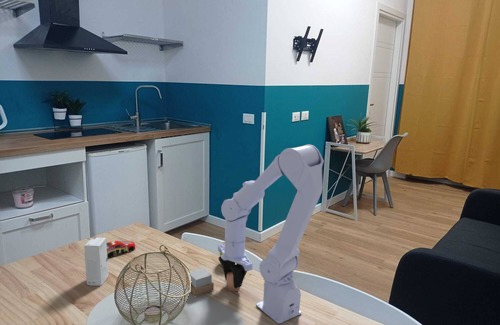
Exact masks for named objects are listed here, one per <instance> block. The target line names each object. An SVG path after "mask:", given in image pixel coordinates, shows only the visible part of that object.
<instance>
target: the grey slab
mask: <svg viewBox="0 0 500 325" xmlns="http://www.w3.org/2000/svg"><path fill="white" fill-rule="evenodd" d="M189 272H190V276H191V281H192V282H191V284H192V285H193V286H194V287H195V288H198V287H201V286H204V285H207V284H210V283H211V282H212V281H213V280H212V279H213V278H212V277H213V275H212V274H211V273H210V272H209V271H207V270H206V269H205V268H204V267H201V268H197V269H193V270H191V271H189ZM212 283H213V282H212Z"/></svg>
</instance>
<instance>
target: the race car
mask: <svg viewBox="0 0 500 325" xmlns="http://www.w3.org/2000/svg"><path fill="white" fill-rule="evenodd" d="M106 244H107V259H110V258H112V257H116V256H119V255H122V254H126V253H129V252H130V253H131V252H133V251H134V250H135V249H136V244H135V241H132V240H131V241H130V240H122V241H120V240H112V241H109V242H106Z"/></svg>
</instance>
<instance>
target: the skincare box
mask: <svg viewBox="0 0 500 325" xmlns="http://www.w3.org/2000/svg"><path fill="white" fill-rule="evenodd" d="M106 243H107V237H92V238H90V239H89V240H88V241H87V242H86V244H84V246H83V249H84V250H83V251H84V261H85V262H84V264H85V277H86V285H87V286H92V287H93V286H98V287H99V286H102V285H104V283H105V281H106V280H107V279H108V277H109V264H108V263H109V262H108V261H109V260H108V259H109V258H107V244H106Z"/></svg>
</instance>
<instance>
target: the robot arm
mask: <svg viewBox="0 0 500 325" xmlns="http://www.w3.org/2000/svg"><path fill="white" fill-rule="evenodd" d="M274 157H275V158H274V159H273V160H272V162H271V163H270V164H269V166H267V168H266V169H265V170H264V171H263V172H262V173H261V174H260V175H259V176H258V177H257V178H256V179H255V180H248V181H244V182H243V183H242V187H241V188H240V189H239V190H238V191H237V192H234V193H233V194H232V195H233V196H232V198H228V199H224V200H223V202H222V205H221V207H220V208H221V214H222V216H223V217H224V219H225V220H224V225H225V226H224V227H225V228H224V241H225V244H222V243H221V244H217V251H218V252H219V253H220V252H222V254H223V255H222V256H220V255H219V257H218V261H219V263H220V264H221V268H222V271H223V276H224V279H225V281H227V273H229V272H232V273H233V282H234V287H235V288H238V287H240V288H241V287H242V285H243V283H244V282H243V281H244V279H245V276H246V274H247V273H248V272H249V271H251V270H253V262H251V260H250V259H249V258H248V256H247V254H246V252H245V251H246V249H245V248H246V227H247V221H248V217H249V214H250V213H251V211H252V208H253V207H254V206H256V205H257V204H258V203H259V202H260V201H261V200H262V199H263V198H264V197H265V192H266V191H265V190H266V189H268V188H269V187H270V186H271V185H272V184H274V183H275V182H276V181H277V180H278V179H279V178H281V177H282V176H284V175H285V177H286V178H287V180H289V181H290V183H291V185H292V186H294V187H295V189H296V190H297V191H296V194H295V196H294V198H293V201H292V202H291V203H292V204H291V206H290V208H289V211H288V214H287V215H286V218H285V222H284V223H283V226H282V229H281V231H280V233H279V236H278V238H277V241H276V242H275V244H274V245H273V247H272V248H271V249H270V250H269V251H268V253H267V255H266V257H265V258H263V259H262V260H261V261H260V263H259V274H260V276H261V277H262V278H263V281H264V283H263V300H261V301H259V302H256V305H255V306H256V307H258V308H259V309H260V310H261V311H262V312H263V313H265V314H266V315H267V316H268V317H270V318H271V319H272V320H273V321H274V322H276V323H277V324H282V323H284V322H286V321H288V320H290V319H292V318H296V317H297V316H299V315H301V314H302V311H301V310H300V306H301V304H300V303H301V294H302V292H301V289H299V287H298V286H297V285H296V284H295V282H294V280H293V279H294V278H293V276H294V271H295V270H297V268H298V266H299V256H300V253H301V251H300V249H299V246H300V244H301V242H302V239H303V236H304V235H305V232H306V229H307V227H308V225H309V223H310V220H311V218H312V216H313V214H314V211H315V209H316V206H317V204H318V202H319V199H320V197H321V195H322V192H323V188H324V185H323V165H324V162H325V160H324V158H323V156H322V154H321V152H320V150H319V149H318V148H317V147H316V146H315V145H312V144H305V145H302V146H297V147H291V148H290V147H289V148H285V149H284V150H282V151H281V152H280V154H278V155H276V156H274Z"/></svg>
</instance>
